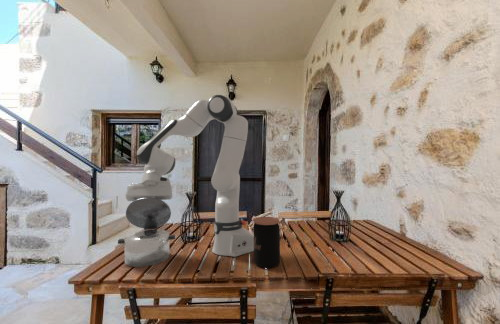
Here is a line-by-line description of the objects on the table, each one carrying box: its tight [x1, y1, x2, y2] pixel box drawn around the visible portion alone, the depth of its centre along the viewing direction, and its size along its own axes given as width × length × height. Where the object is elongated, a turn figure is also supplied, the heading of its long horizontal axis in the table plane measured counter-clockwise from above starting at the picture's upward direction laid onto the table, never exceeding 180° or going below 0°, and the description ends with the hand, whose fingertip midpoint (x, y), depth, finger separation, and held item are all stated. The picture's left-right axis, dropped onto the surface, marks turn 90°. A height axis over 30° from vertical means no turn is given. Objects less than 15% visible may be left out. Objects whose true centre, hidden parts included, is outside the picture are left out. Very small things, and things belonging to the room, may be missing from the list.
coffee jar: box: [253, 216, 281, 269], centre depth 101 cm, size 11×11×18 cm
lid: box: [125, 197, 172, 231], centre depth 113 cm, size 20×19×3 cm
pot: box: [117, 229, 176, 268], centre depth 108 cm, size 18×23×10 cm
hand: (148, 206), depth 111 cm, fingers closed, pressing on lid
